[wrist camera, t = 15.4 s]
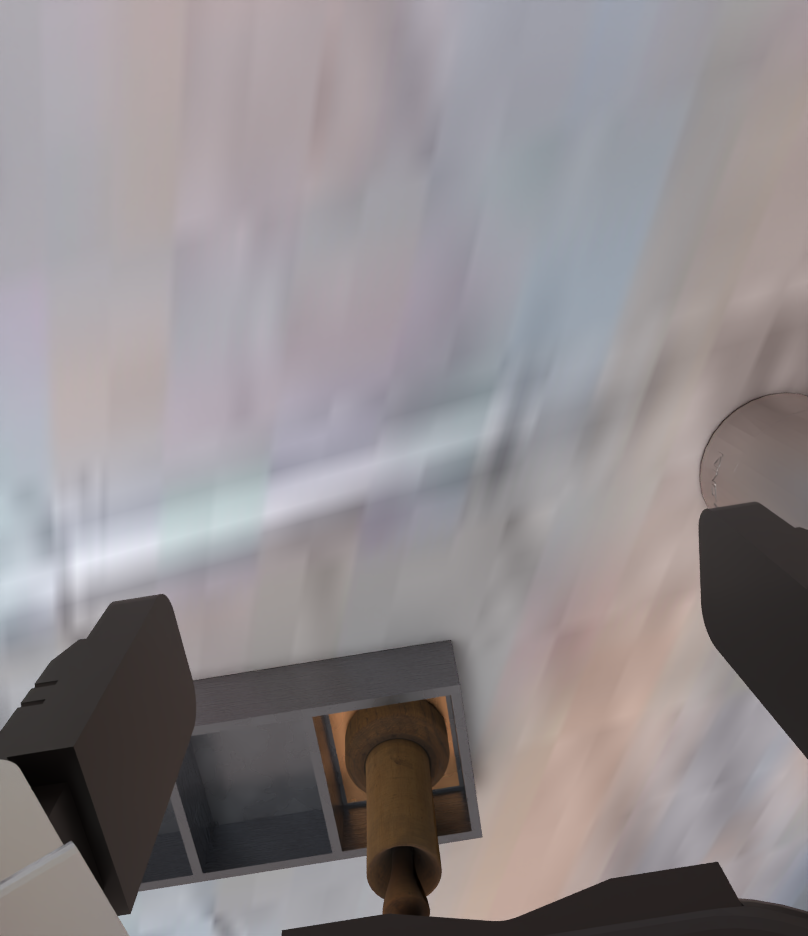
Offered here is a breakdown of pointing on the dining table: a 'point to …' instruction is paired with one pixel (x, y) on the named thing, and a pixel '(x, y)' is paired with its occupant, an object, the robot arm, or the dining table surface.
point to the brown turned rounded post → (400, 798)
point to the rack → (299, 766)
